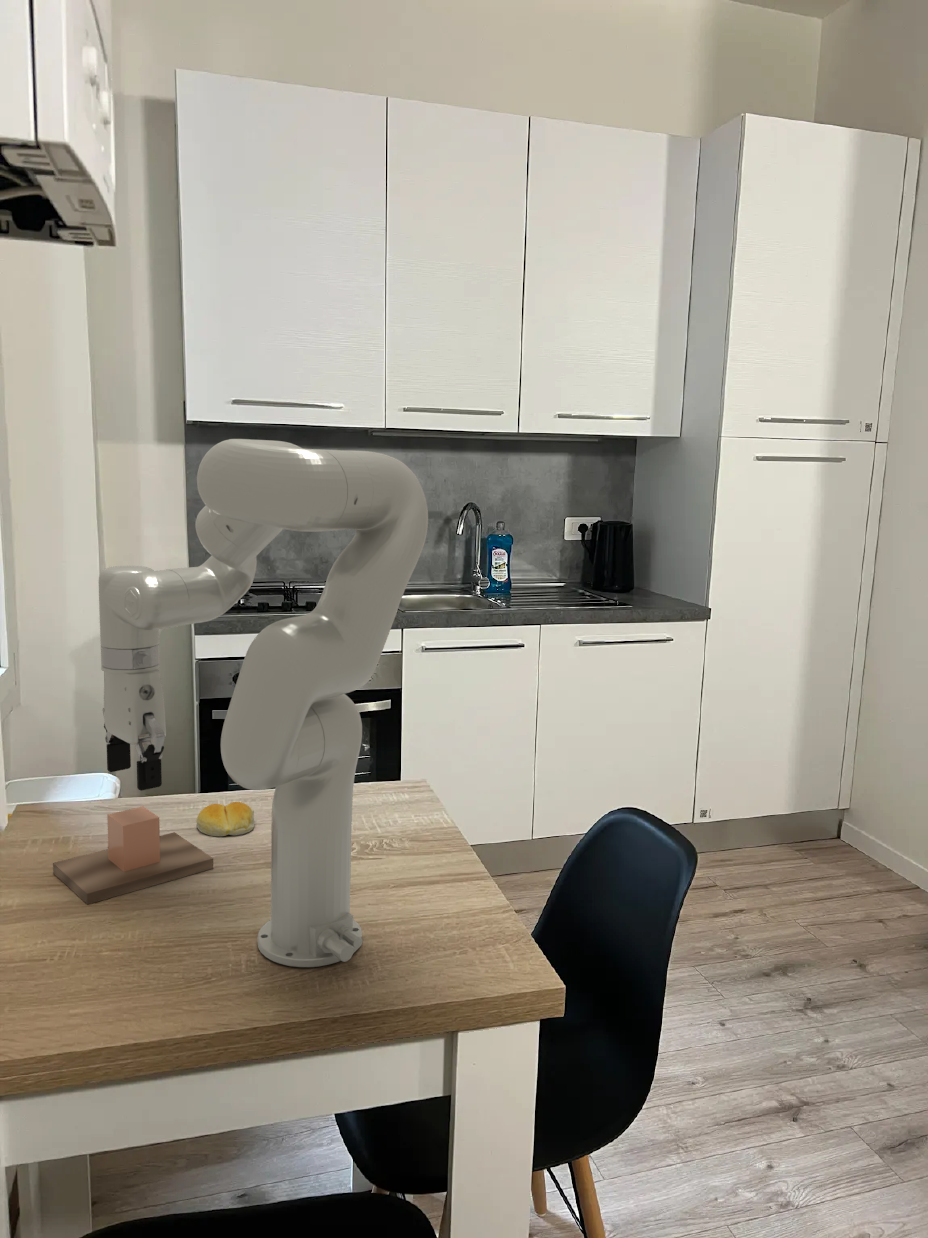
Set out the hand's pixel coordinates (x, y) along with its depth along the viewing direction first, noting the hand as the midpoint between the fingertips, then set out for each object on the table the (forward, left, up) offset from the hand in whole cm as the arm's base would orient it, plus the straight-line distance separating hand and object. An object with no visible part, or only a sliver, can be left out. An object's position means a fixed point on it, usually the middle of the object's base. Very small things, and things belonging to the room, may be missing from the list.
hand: (134, 778), depth 132 cm
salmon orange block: (0, 0, -12) cm, 12 cm away
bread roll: (+7, -18, -14) cm, 24 cm away
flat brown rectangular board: (0, 0, -14) cm, 14 cm away
